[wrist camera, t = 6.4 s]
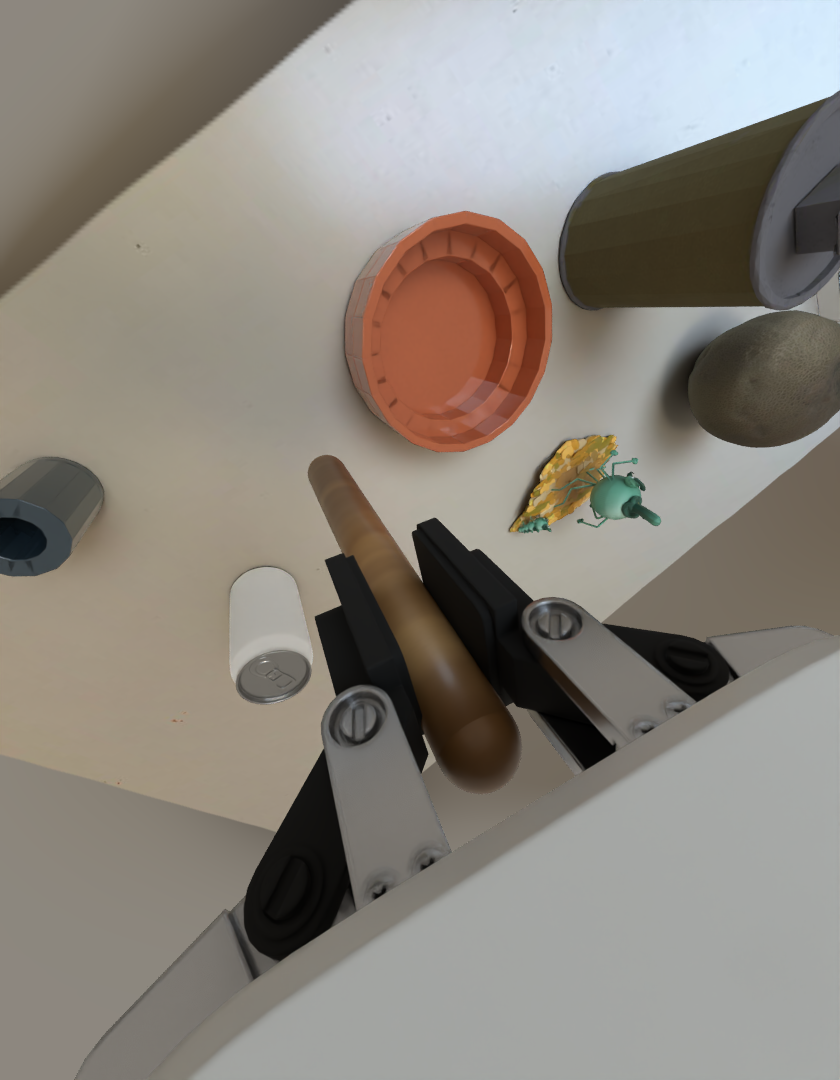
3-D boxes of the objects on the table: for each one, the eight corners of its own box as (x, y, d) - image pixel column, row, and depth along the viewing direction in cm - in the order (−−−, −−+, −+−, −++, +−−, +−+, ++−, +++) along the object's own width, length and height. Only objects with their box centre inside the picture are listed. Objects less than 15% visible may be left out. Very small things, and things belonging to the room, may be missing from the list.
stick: (299, 456, 19) (454, 791, 7) (335, 444, 19) (542, 740, 7) (311, 488, 20) (463, 826, 8) (345, 477, 20) (539, 780, 8)
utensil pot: (-7, 470, 28) (-79, 519, 21) (75, 446, 29) (31, 485, 22) (47, 531, 30) (-2, 589, 24) (119, 506, 32) (92, 556, 25)
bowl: (314, 251, 29) (330, 239, 24) (504, 209, 32) (552, 191, 28) (372, 456, 38) (393, 477, 33) (515, 406, 42) (552, 419, 37)
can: (270, 552, 39) (284, 632, 29) (309, 592, 42) (332, 674, 33) (214, 590, 38) (209, 684, 29) (258, 626, 42) (267, 719, 32)
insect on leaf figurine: (489, 489, 45) (593, 538, 34) (598, 403, 48) (729, 422, 37) (512, 545, 51) (608, 604, 39) (608, 466, 54) (724, 499, 42)
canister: (582, 334, 41) (809, 349, 25) (540, 234, 34) (808, 169, 18) (660, 253, 40) (947, 216, 24) (632, 136, 33) (996, -21, 18)
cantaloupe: (747, 289, 46) (926, 282, 35) (729, 402, 55) (868, 428, 43) (655, 336, 44) (810, 346, 33) (650, 447, 53) (772, 487, 41)
